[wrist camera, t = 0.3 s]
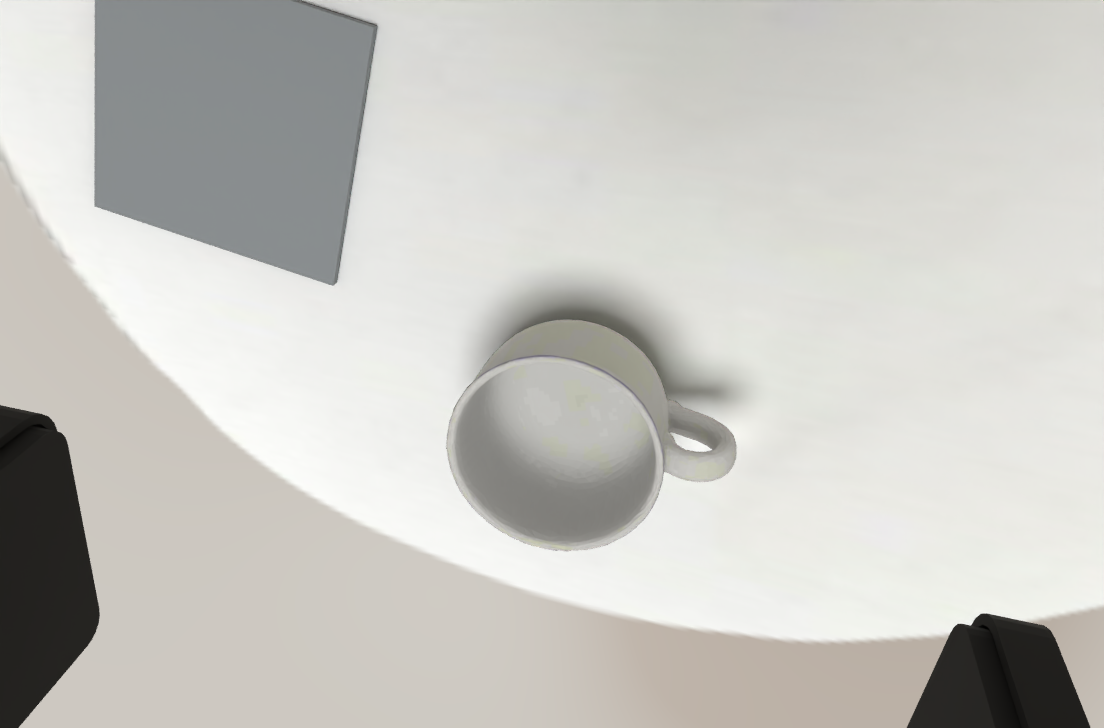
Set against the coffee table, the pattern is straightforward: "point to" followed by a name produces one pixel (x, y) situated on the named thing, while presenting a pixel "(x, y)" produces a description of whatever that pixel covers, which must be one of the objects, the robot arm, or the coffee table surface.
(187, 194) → the slate mat
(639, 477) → the teacup
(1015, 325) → the coffee table surface
